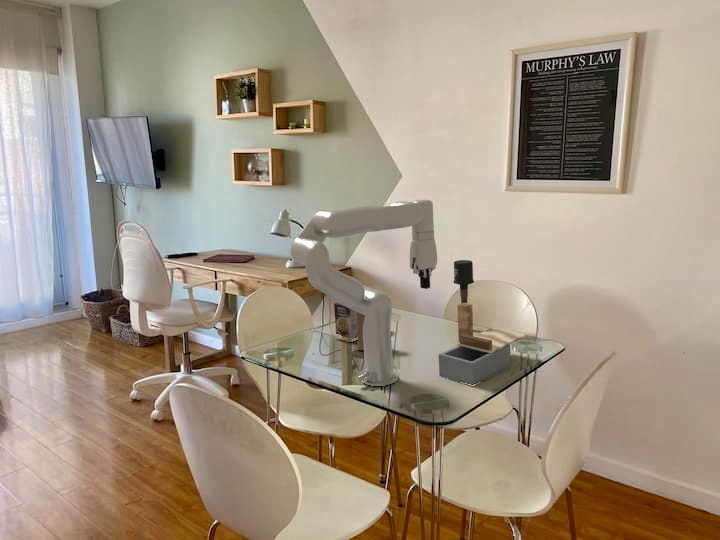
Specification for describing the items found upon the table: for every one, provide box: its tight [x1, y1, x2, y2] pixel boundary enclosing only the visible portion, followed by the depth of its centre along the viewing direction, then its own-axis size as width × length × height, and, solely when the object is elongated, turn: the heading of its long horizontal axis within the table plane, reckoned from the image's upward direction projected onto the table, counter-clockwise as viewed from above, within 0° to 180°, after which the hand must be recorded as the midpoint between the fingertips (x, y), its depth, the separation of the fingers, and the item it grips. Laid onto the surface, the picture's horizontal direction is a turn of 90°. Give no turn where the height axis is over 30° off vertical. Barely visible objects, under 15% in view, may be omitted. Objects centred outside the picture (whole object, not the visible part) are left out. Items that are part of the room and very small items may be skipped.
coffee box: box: [333, 302, 358, 340], centre depth 230 cm, size 9×6×16 cm
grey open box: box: [438, 344, 512, 385], centre depth 187 cm, size 22×14×8 cm, turn 133°
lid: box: [456, 327, 527, 353], centre depth 192 cm, size 22×14×4 cm, turn 133°
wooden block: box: [356, 312, 365, 351], centre depth 215 cm, size 4×11×18 cm, turn 85°
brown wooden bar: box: [456, 302, 474, 343], centre depth 208 cm, size 4×4×18 cm
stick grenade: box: [453, 259, 475, 304], centre depth 231 cm, size 8×9×30 cm
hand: (425, 287), depth 190 cm, fingers closed
